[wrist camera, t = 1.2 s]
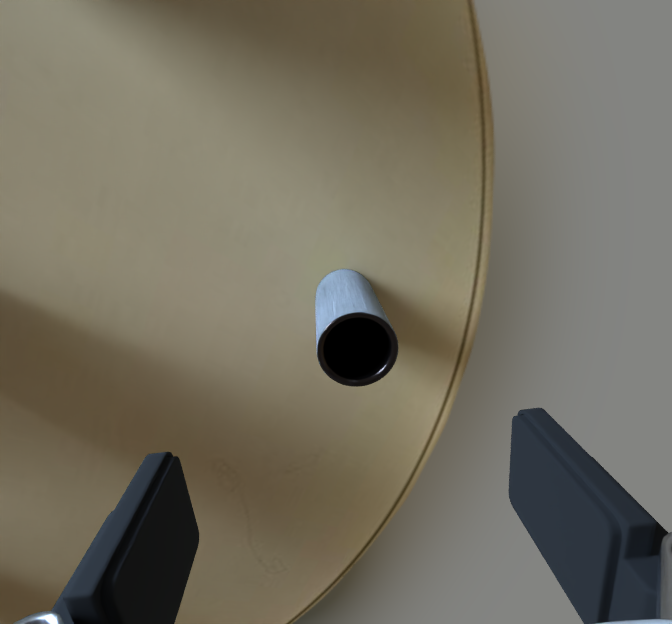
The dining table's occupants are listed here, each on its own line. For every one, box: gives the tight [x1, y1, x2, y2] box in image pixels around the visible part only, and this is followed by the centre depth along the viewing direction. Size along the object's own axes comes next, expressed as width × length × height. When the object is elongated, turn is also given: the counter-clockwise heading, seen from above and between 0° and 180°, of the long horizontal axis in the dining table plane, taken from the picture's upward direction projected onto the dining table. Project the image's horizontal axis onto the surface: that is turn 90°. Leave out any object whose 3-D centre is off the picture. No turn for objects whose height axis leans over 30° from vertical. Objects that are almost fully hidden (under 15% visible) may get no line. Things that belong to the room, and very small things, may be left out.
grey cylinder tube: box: [316, 269, 398, 386], centre depth 27 cm, size 4×4×10 cm
